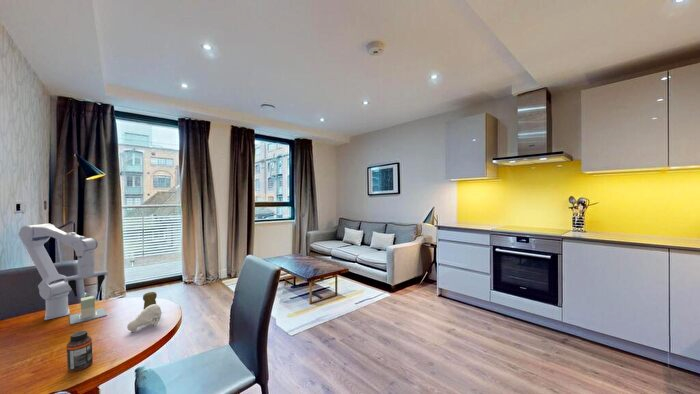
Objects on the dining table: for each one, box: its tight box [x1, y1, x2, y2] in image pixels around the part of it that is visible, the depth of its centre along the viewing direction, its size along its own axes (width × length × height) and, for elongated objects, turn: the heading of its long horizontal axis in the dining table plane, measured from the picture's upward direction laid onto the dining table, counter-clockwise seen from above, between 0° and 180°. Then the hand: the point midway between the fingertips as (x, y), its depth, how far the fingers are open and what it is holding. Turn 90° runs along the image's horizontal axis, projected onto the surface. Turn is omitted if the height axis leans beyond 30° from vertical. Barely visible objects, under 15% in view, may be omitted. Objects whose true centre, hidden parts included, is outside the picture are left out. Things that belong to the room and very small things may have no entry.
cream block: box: [80, 306, 96, 318], centre depth 129 cm, size 4×4×4 cm
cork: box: [142, 291, 157, 311], centre depth 128 cm, size 6×6×11 cm
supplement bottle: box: [66, 329, 93, 373], centre depth 92 cm, size 6×6×11 cm
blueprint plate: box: [69, 307, 107, 326], centre depth 130 cm, size 12×12×1 cm
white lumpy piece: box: [127, 303, 163, 333], centre depth 118 cm, size 6×8×12 cm
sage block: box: [80, 295, 96, 310], centre depth 129 cm, size 4×4×4 cm
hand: (87, 293), depth 129 cm, fingers open, 7 cm apart
